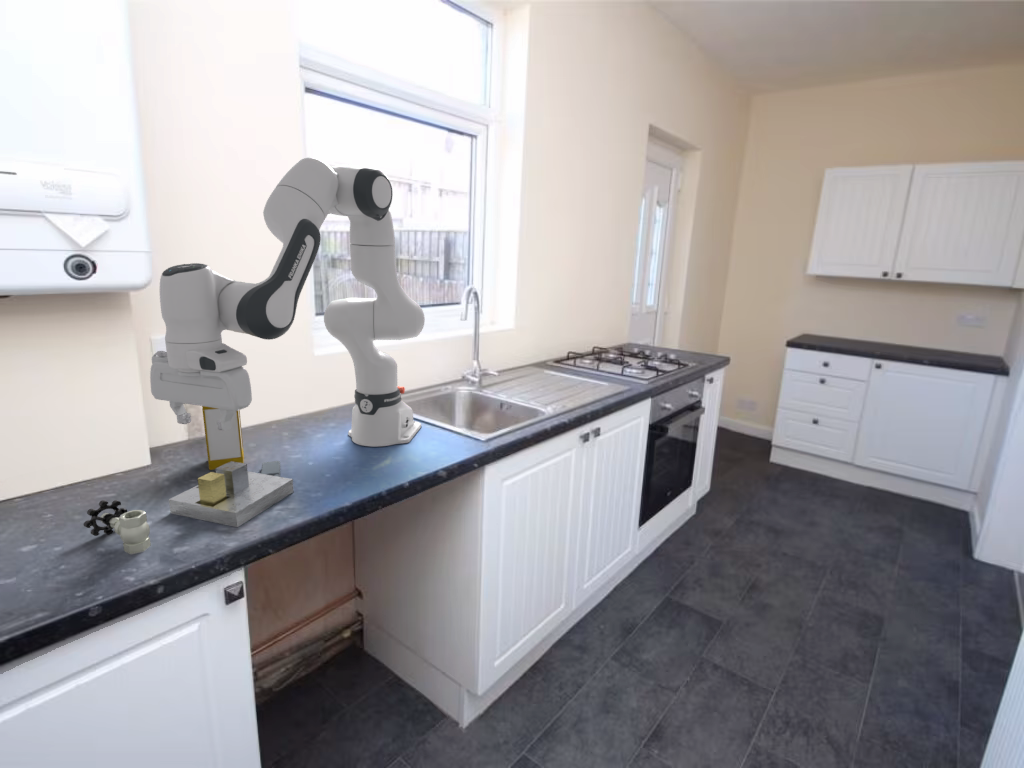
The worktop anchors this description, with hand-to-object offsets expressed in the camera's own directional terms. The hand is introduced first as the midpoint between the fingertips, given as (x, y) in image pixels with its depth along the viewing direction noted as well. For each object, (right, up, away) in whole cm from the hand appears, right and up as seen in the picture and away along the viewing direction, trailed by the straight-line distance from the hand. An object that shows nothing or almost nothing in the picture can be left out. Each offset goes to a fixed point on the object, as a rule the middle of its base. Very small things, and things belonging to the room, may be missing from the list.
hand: (204, 426), depth 100 cm
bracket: (+3, -14, +22) cm, 26 cm away
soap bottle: (-12, -11, +31) cm, 35 cm away
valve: (-10, -20, -6) cm, 24 cm away
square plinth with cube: (+1, -16, +9) cm, 19 cm away
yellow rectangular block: (0, -18, +4) cm, 18 cm away
